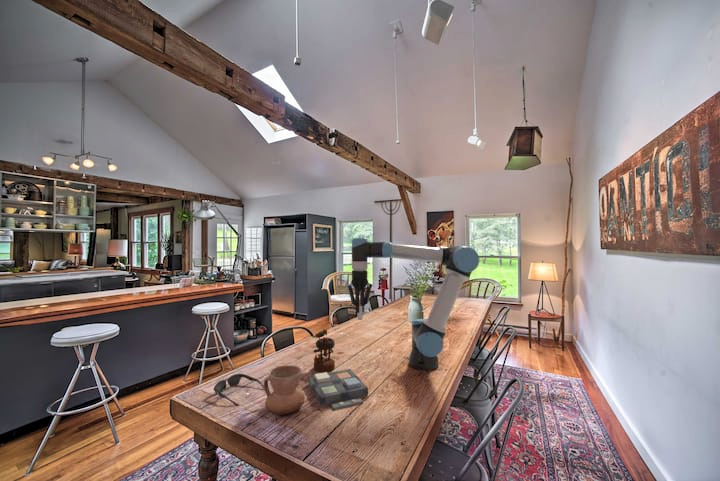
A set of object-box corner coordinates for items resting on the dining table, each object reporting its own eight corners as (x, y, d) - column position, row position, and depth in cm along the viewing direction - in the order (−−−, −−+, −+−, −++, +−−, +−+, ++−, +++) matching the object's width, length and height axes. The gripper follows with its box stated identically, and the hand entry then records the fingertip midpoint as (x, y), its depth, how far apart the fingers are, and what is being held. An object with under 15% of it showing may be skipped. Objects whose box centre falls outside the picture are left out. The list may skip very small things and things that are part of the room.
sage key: (333, 390, 124) (333, 385, 124) (337, 396, 119) (337, 391, 119) (320, 393, 122) (320, 387, 122) (324, 399, 117) (324, 394, 117)
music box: (322, 376, 140) (320, 333, 142) (307, 372, 147) (304, 331, 149) (344, 365, 152) (341, 326, 154) (328, 362, 159) (326, 324, 160)
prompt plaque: (359, 399, 119) (359, 397, 119) (362, 403, 117) (362, 400, 117) (331, 405, 115) (331, 403, 115) (333, 409, 112) (333, 407, 112)
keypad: (350, 376, 140) (350, 368, 140) (367, 396, 122) (367, 387, 122) (308, 384, 132) (308, 376, 132) (320, 406, 114) (320, 397, 114)
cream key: (326, 377, 133) (326, 372, 134) (330, 382, 128) (330, 377, 128) (314, 379, 131) (314, 374, 131) (317, 384, 126) (317, 379, 126)
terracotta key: (347, 376, 137) (347, 371, 137) (351, 381, 132) (351, 376, 132) (336, 378, 135) (336, 373, 135) (340, 383, 130) (340, 378, 130)
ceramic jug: (314, 403, 117) (314, 366, 117) (292, 423, 103) (292, 381, 104) (277, 395, 124) (276, 360, 124) (252, 413, 110) (251, 374, 111)
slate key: (355, 382, 128) (355, 377, 128) (360, 388, 123) (360, 382, 123) (343, 384, 126) (343, 379, 126) (348, 390, 121) (348, 385, 121)
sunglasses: (241, 381, 136) (241, 370, 136) (267, 393, 129) (268, 382, 128) (208, 397, 122) (209, 385, 122) (236, 413, 114) (237, 400, 114)
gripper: (368, 268, 149) (368, 316, 149) (344, 269, 144) (344, 318, 143) (375, 270, 142) (375, 319, 142) (349, 271, 137) (349, 322, 137)
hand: (359, 319), depth 143 cm, fingers closed
